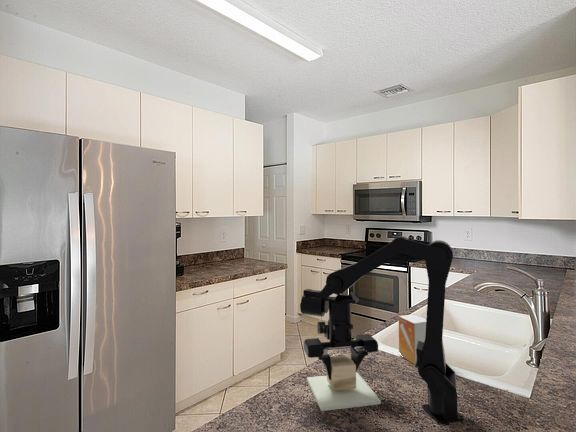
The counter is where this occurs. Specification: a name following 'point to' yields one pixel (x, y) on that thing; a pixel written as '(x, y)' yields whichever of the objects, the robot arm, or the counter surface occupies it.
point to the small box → (411, 335)
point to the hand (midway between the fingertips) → (341, 378)
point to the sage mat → (341, 394)
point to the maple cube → (342, 373)
